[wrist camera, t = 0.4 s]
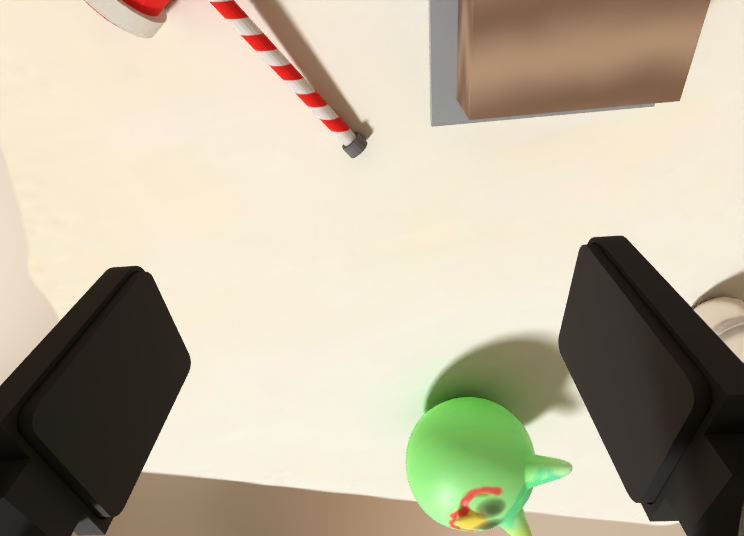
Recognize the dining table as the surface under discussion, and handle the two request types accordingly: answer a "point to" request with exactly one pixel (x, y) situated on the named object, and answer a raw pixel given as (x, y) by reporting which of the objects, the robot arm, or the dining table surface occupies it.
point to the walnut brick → (573, 54)
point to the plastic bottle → (725, 321)
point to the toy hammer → (147, 14)
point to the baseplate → (445, 70)
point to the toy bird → (476, 466)
